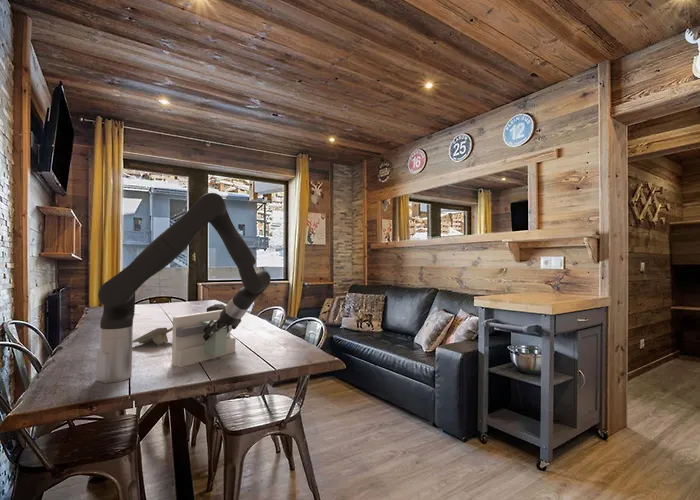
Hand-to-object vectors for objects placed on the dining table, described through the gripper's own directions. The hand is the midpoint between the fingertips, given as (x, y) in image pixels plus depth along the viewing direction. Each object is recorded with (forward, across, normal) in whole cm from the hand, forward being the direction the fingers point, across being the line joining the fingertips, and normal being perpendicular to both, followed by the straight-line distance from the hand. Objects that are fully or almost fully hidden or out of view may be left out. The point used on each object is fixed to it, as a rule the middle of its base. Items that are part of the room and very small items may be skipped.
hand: (213, 336), depth 145 cm
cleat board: (+10, 0, +3) cm, 10 cm away
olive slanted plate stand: (+37, -2, -23) cm, 43 cm away
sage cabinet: (+5, 0, +4) cm, 6 cm away
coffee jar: (+20, -17, -7) cm, 27 cm away
